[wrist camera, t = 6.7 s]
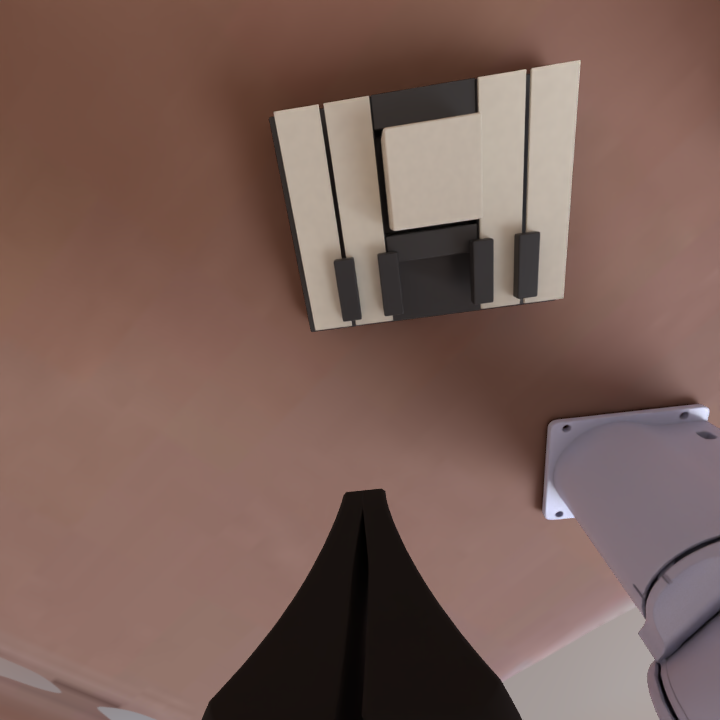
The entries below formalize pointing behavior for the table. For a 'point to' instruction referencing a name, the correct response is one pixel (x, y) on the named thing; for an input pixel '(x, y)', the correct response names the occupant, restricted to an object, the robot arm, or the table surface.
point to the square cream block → (433, 171)
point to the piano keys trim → (500, 199)
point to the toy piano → (424, 244)
